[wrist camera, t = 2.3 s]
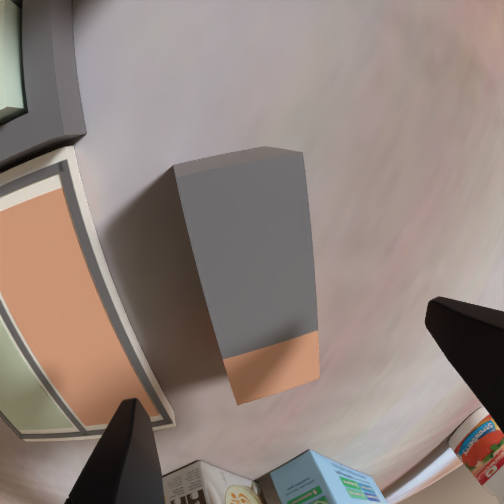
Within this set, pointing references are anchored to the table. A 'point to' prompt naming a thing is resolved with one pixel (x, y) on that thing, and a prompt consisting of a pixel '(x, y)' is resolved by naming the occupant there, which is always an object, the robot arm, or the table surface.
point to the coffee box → (209, 487)
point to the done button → (11, 63)
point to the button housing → (45, 82)
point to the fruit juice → (482, 451)
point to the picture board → (63, 313)
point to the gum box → (323, 482)
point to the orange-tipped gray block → (255, 265)
